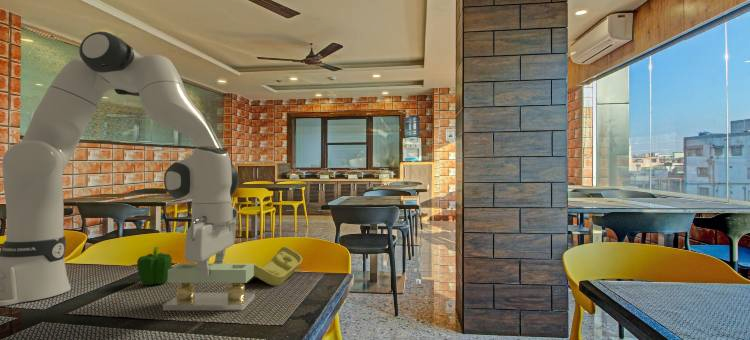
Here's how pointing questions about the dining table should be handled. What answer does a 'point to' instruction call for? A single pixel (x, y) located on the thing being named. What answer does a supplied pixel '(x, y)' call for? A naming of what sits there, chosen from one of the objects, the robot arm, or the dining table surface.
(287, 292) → the dining table surface
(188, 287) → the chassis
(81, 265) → the dining table surface
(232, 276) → the board
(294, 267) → the plastic component
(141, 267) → the bell pepper
